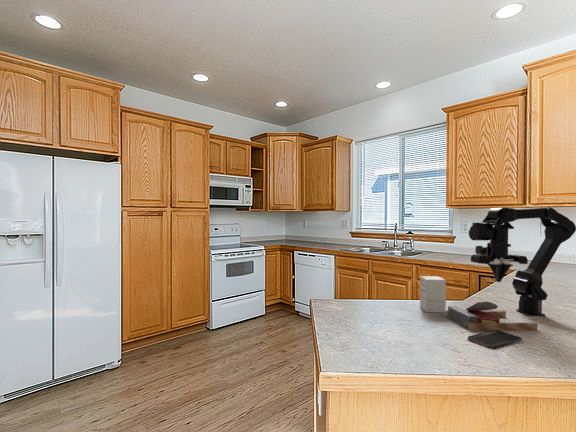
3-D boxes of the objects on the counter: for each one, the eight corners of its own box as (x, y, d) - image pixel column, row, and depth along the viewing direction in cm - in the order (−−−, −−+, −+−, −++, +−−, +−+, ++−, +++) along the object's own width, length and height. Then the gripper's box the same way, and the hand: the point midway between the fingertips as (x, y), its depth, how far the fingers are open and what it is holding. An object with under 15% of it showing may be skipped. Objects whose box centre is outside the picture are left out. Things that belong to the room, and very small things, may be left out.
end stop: (455, 317, 114) (456, 306, 114) (477, 329, 102) (478, 316, 102) (447, 317, 114) (448, 306, 114) (469, 329, 102) (469, 316, 102)
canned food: (470, 337, 107) (454, 309, 109) (477, 327, 114) (462, 301, 117) (505, 330, 100) (488, 300, 102) (510, 319, 107) (494, 292, 110)
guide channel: (502, 315, 117) (502, 310, 117) (537, 330, 102) (537, 324, 102) (445, 315, 115) (445, 310, 115) (472, 330, 100) (472, 324, 100)
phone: (465, 336, 93) (496, 329, 100) (465, 340, 93) (496, 333, 100) (493, 347, 86) (524, 338, 93) (493, 351, 86) (524, 342, 93)
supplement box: (438, 307, 126) (439, 276, 126) (446, 313, 119) (446, 279, 119) (419, 306, 127) (419, 275, 127) (425, 312, 119) (426, 279, 119)
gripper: (506, 239, 128) (505, 277, 128) (462, 238, 127) (461, 277, 127) (529, 241, 117) (528, 283, 117) (480, 241, 116) (480, 283, 116)
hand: (498, 281), depth 119 cm, fingers closed
